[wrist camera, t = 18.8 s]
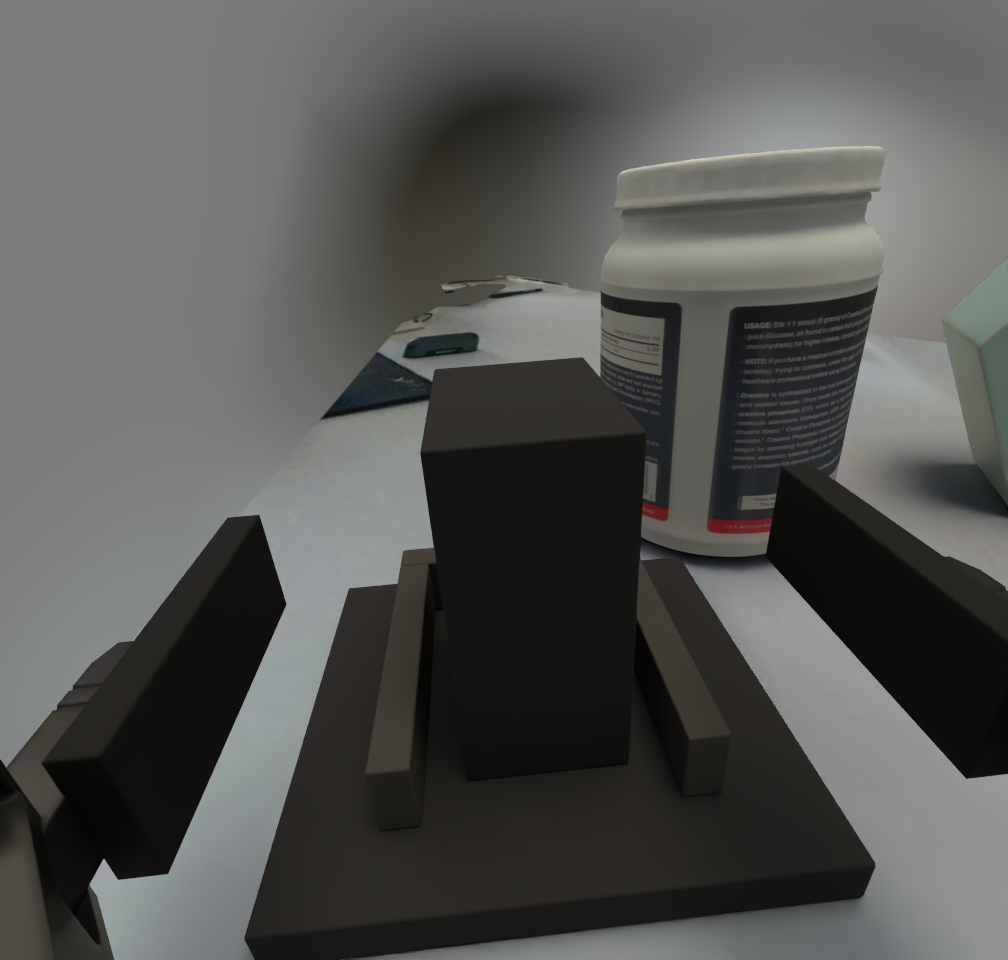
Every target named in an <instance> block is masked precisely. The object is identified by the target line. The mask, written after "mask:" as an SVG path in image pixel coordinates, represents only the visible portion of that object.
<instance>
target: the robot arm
mask: <svg viewBox="0 0 1008 960" xmlns="http://www.w3.org/2000/svg"><path fill="white" fill-rule="evenodd" d="M765 557H766V558H767V559H768V560H769V561H770V562H771V563H772V564H773V565H774V566H775V568H776V569H777V570H778V571H779V572H780V573H781V574H782V575H783V576H784V578H785V579H786V580H787V581H788V582H789V583H790V584H791V585H792V586H793V587H794V589H795V590H796V591H797V592H798V593H799V594H800V595H801V596H802V597H803V599H804V600H805V601H806V602H807V603H808V604H809V605H810V606H811V607H812V609H813V610H814V611H815V612H816V613H817V614H818V615H819V616H820V617H821V618H822V620H823V621H824V622H825V623H826V624H827V625H828V626H829V627H830V628H831V630H832V631H833V632H834V633H835V634H836V635H837V636H838V637H839V638H840V639H841V641H842V642H843V643H844V644H845V645H846V646H847V647H848V648H849V649H850V651H851V652H852V653H853V654H854V655H855V656H856V657H857V658H858V659H859V660H860V662H861V663H862V664H863V665H864V666H865V667H866V668H867V669H868V670H869V672H870V673H871V674H872V675H873V676H874V677H875V678H876V679H877V680H878V682H879V683H880V684H881V685H882V686H883V687H884V688H885V689H886V690H887V691H888V693H889V694H890V695H891V696H892V697H893V698H894V699H895V700H896V701H897V703H898V704H899V705H900V706H901V707H902V708H903V709H904V710H905V711H906V712H907V714H908V715H909V716H910V717H911V718H912V719H913V720H914V721H915V722H916V724H917V725H918V726H919V727H920V728H921V729H922V730H923V731H924V732H925V733H926V735H927V736H928V737H929V738H930V739H931V740H932V741H933V742H934V743H935V745H936V746H937V747H938V748H939V749H940V750H941V751H942V752H943V753H944V754H945V756H946V757H947V758H948V759H949V760H950V761H951V762H952V763H953V764H954V766H955V767H956V768H957V769H958V770H959V771H960V772H961V773H962V774H963V776H964V777H965V778H966V779H968V778H977V777H985V776H993V775H1002V774H1008V591H1006V589H1005V586H1003V585H1002V584H1000V583H999V582H997V581H996V580H994V579H993V578H991V577H990V576H988V575H987V574H985V573H984V572H982V571H981V570H979V569H977V568H974V567H972V566H970V565H967V564H965V563H963V562H961V561H958V560H956V559H954V558H951V557H943V556H942V555H940V554H939V553H937V552H936V551H935V550H933V549H932V548H930V547H929V546H927V545H926V544H925V543H923V542H922V541H920V540H919V539H917V538H916V537H915V536H913V535H912V534H910V533H909V532H907V531H906V530H905V529H903V528H902V527H900V526H899V525H897V524H896V523H895V522H893V521H892V520H890V519H889V518H888V517H886V516H885V515H883V514H882V513H880V512H879V511H878V510H876V509H875V508H873V507H872V506H870V505H869V504H868V503H866V502H865V501H863V500H862V499H860V498H859V497H858V496H856V495H855V494H853V493H852V492H850V491H849V490H848V489H846V488H845V487H843V486H842V485H840V484H839V483H838V482H836V481H835V480H833V479H832V478H830V477H829V476H828V475H826V474H825V473H823V472H822V471H821V470H819V469H818V468H816V467H815V466H813V465H812V464H811V463H810V464H799V465H789V466H781V470H780V476H779V482H778V488H777V493H776V499H775V505H774V510H773V516H772V522H771V527H770V533H769V539H768V544H767V550H766V556H765ZM285 606H286V601H285V598H284V595H283V591H282V588H281V585H280V582H279V578H278V575H277V572H276V568H275V565H274V562H273V559H272V555H271V552H270V549H269V545H268V542H267V539H266V535H265V532H264V529H263V526H262V522H261V519H260V516H259V515H253V516H243V517H232V518H227V519H226V521H225V522H224V523H223V525H222V526H221V527H220V529H219V530H218V531H217V532H216V534H215V535H214V536H213V538H212V539H211V540H210V542H209V543H208V544H207V546H206V547H205V548H204V550H203V551H202V552H201V553H200V555H199V556H198V557H197V559H196V560H195V561H194V563H193V564H192V565H191V567H190V568H189V569H188V571H187V572H186V573H185V575H184V576H183V577H182V578H181V580H180V581H179V582H178V584H177V585H176V586H175V588H174V589H173V590H172V592H171V593H170V594H169V596H168V597H167V598H166V600H165V601H164V602H163V603H162V605H161V606H160V607H159V609H158V610H157V611H156V613H155V614H154V615H153V617H152V618H151V619H150V621H149V622H148V623H147V625H146V626H145V627H144V628H143V630H142V631H141V632H140V634H139V635H138V636H137V638H136V639H135V640H134V641H130V642H122V643H117V644H116V645H115V646H114V647H112V648H111V649H110V650H108V651H107V652H106V653H105V654H103V655H102V656H100V658H98V659H97V660H95V661H94V662H93V663H92V664H91V665H90V666H89V667H88V668H87V670H86V671H85V672H84V673H83V674H82V676H81V677H80V678H79V679H78V681H77V682H76V683H75V684H74V685H73V690H72V691H69V692H68V693H67V694H66V695H65V697H64V698H63V699H62V700H61V701H60V703H59V704H58V705H57V710H54V711H52V713H51V714H50V715H49V716H48V717H47V719H46V720H45V721H44V722H43V723H42V725H41V726H40V727H39V728H38V730H37V731H36V732H35V733H34V734H33V736H32V737H31V738H30V739H29V741H28V742H27V743H26V744H25V745H24V747H23V748H22V749H21V750H20V752H19V753H18V754H17V755H16V757H15V758H14V759H13V760H12V762H11V763H10V764H9V765H8V766H7V767H5V765H4V764H3V763H2V761H1V760H0V960H114V958H113V954H112V950H111V946H110V943H109V939H108V935H107V932H106V928H105V924H104V920H103V917H102V913H101V909H100V906H99V902H98V898H97V896H96V894H95V893H94V891H93V890H92V888H91V887H90V886H89V884H90V882H91V880H92V878H93V877H94V875H95V873H96V871H97V869H98V868H99V866H100V864H101V862H102V860H103V859H105V860H106V862H107V863H108V865H109V866H110V868H111V869H112V871H113V873H114V874H115V876H116V877H117V879H118V880H121V879H129V878H137V877H146V876H154V875H163V874H168V873H169V870H170V868H171V866H172V864H173V861H174V859H175V857H176V854H177V852H178V850H179V848H180V845H181V843H182V841H183V839H184V836H185V834H186V832H187V829H188V827H189V825H190V823H191V820H192V818H193V816H194V813H195V811H196V809H197V807H198V804H199V802H200V800H201V798H202V795H203V793H204V791H205V788H206V786H207V784H208V782H209V779H210V777H211V775H212V773H213V770H214V768H215V766H216V763H217V761H218V759H219V757H220V754H221V752H222V750H223V748H224V745H225V743H226V741H227V738H228V736H229V734H230V732H231V729H232V727H233V725H234V722H235V720H236V718H237V716H238V713H239V711H240V709H241V707H242V704H243V702H244V700H245V697H246V695H247V693H248V691H249V688H250V686H251V684H252V682H253V679H254V677H255V675H256V672H257V670H258V668H259V666H260V663H261V661H262V659H263V657H264V654H265V652H266V650H267V647H268V645H269V643H270V641H271V638H272V636H273V634H274V631H275V629H276V627H277V625H278V622H279V620H280V618H281V616H282V613H283V611H284V609H285Z"/></svg>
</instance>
